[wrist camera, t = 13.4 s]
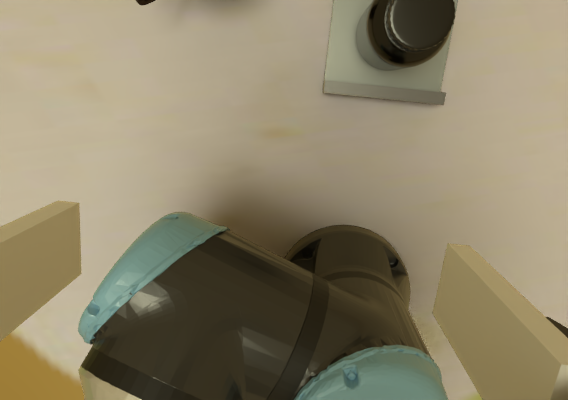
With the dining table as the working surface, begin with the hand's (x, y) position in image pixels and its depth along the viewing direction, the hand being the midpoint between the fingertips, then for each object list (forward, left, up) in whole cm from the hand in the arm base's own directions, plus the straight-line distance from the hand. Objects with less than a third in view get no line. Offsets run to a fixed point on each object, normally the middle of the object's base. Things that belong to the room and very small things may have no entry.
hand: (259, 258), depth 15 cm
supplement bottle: (+12, -9, -31) cm, 35 cm away
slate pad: (+12, -9, -32) cm, 35 cm away
